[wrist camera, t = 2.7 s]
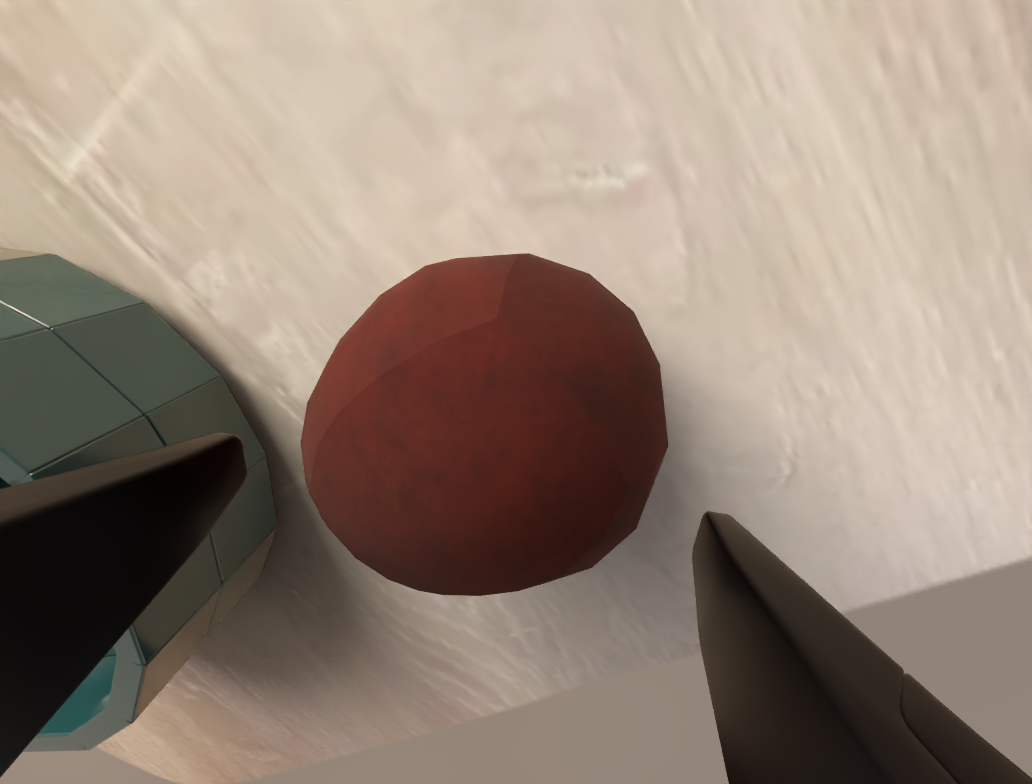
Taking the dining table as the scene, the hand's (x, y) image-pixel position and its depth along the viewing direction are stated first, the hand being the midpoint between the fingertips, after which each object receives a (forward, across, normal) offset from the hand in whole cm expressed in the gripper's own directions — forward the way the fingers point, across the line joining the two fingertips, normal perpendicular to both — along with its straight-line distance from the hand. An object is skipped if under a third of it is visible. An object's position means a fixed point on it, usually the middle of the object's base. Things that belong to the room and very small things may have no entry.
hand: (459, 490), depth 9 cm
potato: (+5, 0, 0) cm, 5 cm away
